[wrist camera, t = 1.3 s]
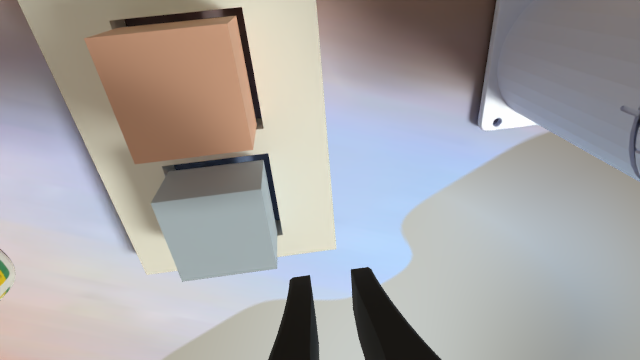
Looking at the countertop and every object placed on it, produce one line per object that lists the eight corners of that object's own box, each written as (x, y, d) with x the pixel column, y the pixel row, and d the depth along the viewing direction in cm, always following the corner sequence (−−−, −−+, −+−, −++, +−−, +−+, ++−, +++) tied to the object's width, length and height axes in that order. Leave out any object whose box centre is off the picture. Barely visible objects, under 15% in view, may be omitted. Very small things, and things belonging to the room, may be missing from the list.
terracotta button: (236, 15, 15) (227, 23, 12) (256, 124, 18) (253, 149, 15) (117, 27, 15) (83, 38, 12) (156, 136, 17) (134, 164, 15)
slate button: (263, 159, 19) (261, 189, 16) (277, 232, 21) (277, 268, 18) (168, 171, 18) (150, 203, 16) (194, 243, 21) (182, 281, 18)
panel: (288, -286, 12) (290, -321, 11) (332, 233, 24) (336, 248, 22) (-74, -262, 11) (-123, -296, 10) (154, 257, 23) (146, 274, 22)
